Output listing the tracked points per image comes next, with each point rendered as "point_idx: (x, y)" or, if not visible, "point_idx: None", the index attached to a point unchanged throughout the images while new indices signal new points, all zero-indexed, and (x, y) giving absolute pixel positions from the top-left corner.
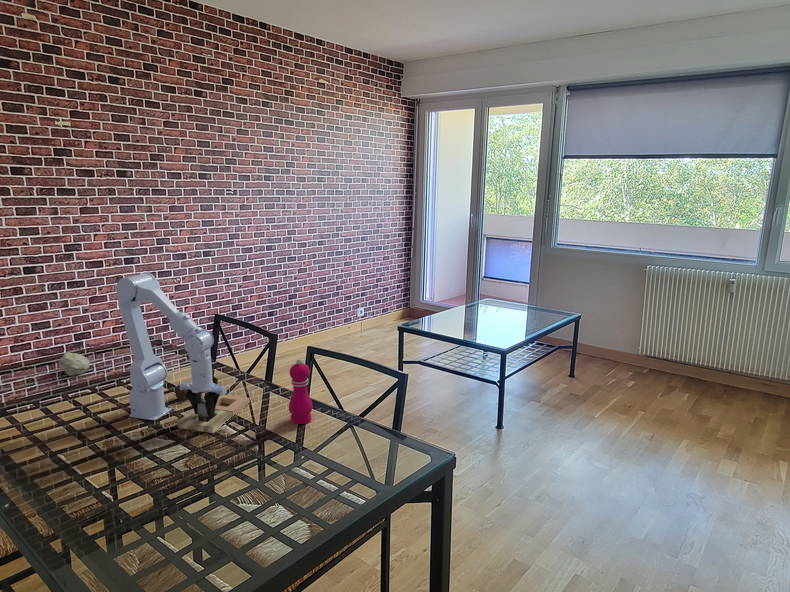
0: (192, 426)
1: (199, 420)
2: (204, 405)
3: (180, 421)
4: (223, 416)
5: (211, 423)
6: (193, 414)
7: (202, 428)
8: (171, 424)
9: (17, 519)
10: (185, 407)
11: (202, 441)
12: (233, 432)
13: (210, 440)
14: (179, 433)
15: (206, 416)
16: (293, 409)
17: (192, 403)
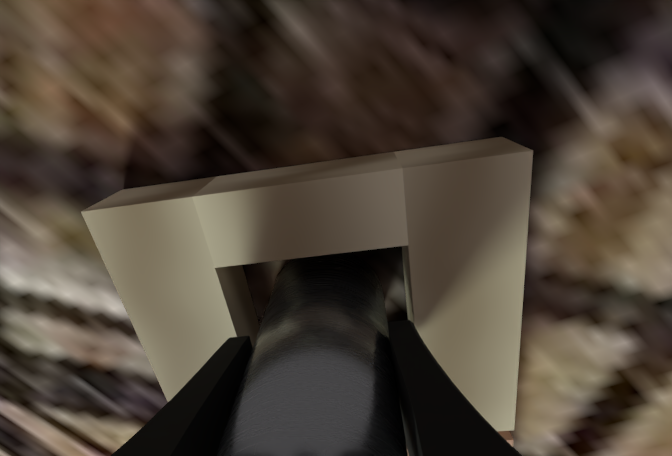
0: (329, 170)
1: (335, 273)
2: (230, 437)
3: (492, 166)
4: (181, 386)
5: (156, 259)
6: (459, 328)
7: (216, 184)
8: (603, 163)
9: None
10: (646, 411)
11: (63, 17)
12: (8, 263)
13: (22, 71)
14: (402, 48)
15: (262, 323)
16: None
17: (448, 424)
